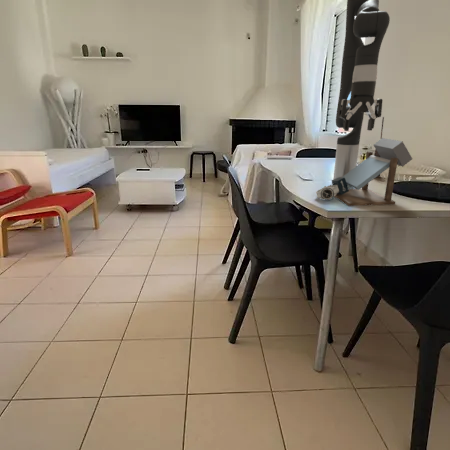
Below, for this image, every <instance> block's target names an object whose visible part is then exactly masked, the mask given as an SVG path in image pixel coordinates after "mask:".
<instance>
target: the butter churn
mask: <svg viewBox="0 0 450 450" xmlns="http://www.w3.org/2000/svg"><path fill="white" fill-rule="evenodd" d="M384 119H385V116H382V120H381V131H380V139H382V138H383V137H382V136H383V129H384V121H385V120H384ZM373 156H377V157H380V155H379V153H378V152H377V150H376V148H375V149H374V152H373ZM378 177H381V174H379V175H378V176H377V177H376V178H378Z"/></svg>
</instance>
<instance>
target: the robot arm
mask: <svg viewBox="0 0 450 450" xmlns="http://www.w3.org/2000/svg"><path fill="white" fill-rule="evenodd" d="M379 3H380V0H347V1H346V12H345V13H346V16H345V18H346V19H345V32H344V33H345V34H344V35H345V37H344V46H343V52H342V60H341V71H340V72H341V74H340V87H339V95H338V102H337V106H336V107H337V108H336V115H335V125H336V127H337V128H339V129H340V128H341V129H342V130H344V132H348V133H346V134H344V135H341V136H339V137H338V138H337V141H336V151H335V160H334V171H333V179H332V180H334V179H336V178H338V177H343V176H344V175H346V174H347V173H348V172H350V171H351V170H352V169H354V168H355V167H356V166H358V157H359V150H360V149H359V148H360V141H361V133H362V127H363V122H364V115H365V114H366V116H367V117H368V118H369V119H368V121H367V129H366V130H367V131H372V130H373V129H374V127H375V122H376V119H377V118H381V117H382V112H383V111H382V110H383V99H382V98H376V99H374V98H375V97H374V96H375V91H376V84H377V76H378V63H379V54H380V52H381V51H380V50H381V45H382V43H383V41H384V38H385V36H386V33H387V31H388V28H389V25H390V19H391V18H390V14H389V13H388V12H387V11H386V10H380V9H379ZM364 38H374V40H373V41H372V42H371V43H368V44H364V41H363V39H364ZM349 96H350V98H349ZM348 98H349V99H348ZM373 105H374V109H373V107H372V106H373ZM350 129H351V131H350V132H349V130H350Z"/></svg>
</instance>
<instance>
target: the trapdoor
mask: <svg viewBox="0 0 450 450" xmlns="http://www.w3.org/2000/svg"><path fill="white" fill-rule="evenodd" d="M373 147H374V148H375V149H376V150H377V152H378V153H379V155H380V157H377V156H374V154H373V155H370V156H369V157H368V158H367V159H366V158H365V159H364V160H363V161H362V162H361V163H359V164H357V166H356V167H355V168H354V169H352V170H351V171H350V172H348V173H347V174H346V175H344V176H343V178H345V180H346V183H347V186H350V187H352V189H357V190H359V189H362V187H363V186H365V185H366V184H367V183H368V184H369V183H370V182H371V181H374V179H376V178H378V177H379V176H378V175H379V174H380V175H381V174H382V173H384V172H385V171H386V170H389V166H390V160H391V158H398V162H397V166H400V167H404V166H405V165H407V164H408V163H409V162H410V161H412V160H413V157H412V155H411V154H410V152H409V150H408V148H407V146H406V145H405V143H404V141H402V140H396V139H391V138H384V137H382V139H381V138H380V139H379V140H377V141H376V142H375V143H373ZM377 176H378V177H377Z"/></svg>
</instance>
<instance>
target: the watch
mask: <svg viewBox="0 0 450 450" xmlns="http://www.w3.org/2000/svg"><path fill="white" fill-rule="evenodd" d="M331 184H332V185H331ZM331 184H330V185H324V186H323V187H321V188H320V189H318V190H316V191H315V193H316V196H317V198H318V199H320V200H324V201H330V200H332V199H333V198H335V197H334V196H335V195H336V194H341V195H342V194H344V193H346V192H349V190H348V189H349V187H348V185H347V183H346V180H345V178H343V177H338V178H336V179H334V180H333V179H331Z"/></svg>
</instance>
